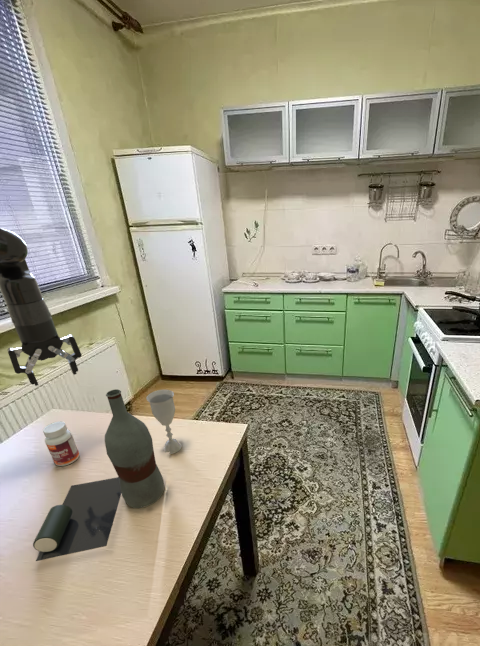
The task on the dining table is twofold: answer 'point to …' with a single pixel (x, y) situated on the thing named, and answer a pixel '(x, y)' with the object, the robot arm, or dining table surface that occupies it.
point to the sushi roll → (53, 528)
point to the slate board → (88, 517)
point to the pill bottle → (60, 443)
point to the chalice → (164, 415)
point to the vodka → (132, 455)
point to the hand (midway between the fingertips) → (56, 378)
